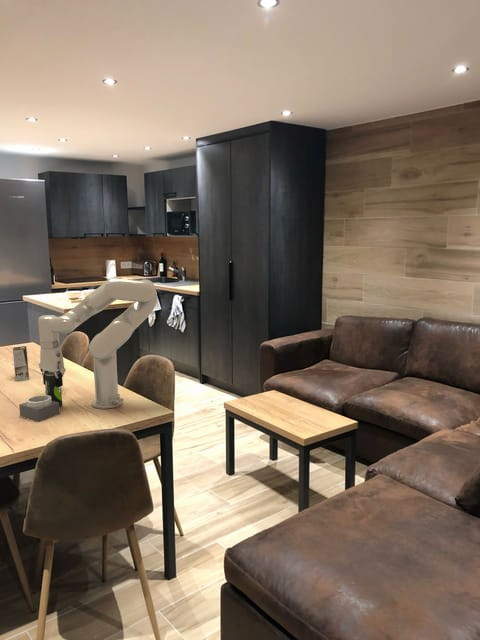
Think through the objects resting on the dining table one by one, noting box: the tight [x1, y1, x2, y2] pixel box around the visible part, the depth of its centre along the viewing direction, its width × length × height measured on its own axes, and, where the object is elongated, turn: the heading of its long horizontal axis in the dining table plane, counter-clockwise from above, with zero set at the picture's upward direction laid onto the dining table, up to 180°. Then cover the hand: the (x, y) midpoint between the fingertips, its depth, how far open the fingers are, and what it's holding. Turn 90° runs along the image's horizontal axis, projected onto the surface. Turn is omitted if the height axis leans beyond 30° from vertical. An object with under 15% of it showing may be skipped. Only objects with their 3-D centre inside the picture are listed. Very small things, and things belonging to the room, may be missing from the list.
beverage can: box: [45, 372, 63, 409], centre depth 213 cm, size 6×6×15 cm
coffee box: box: [12, 345, 30, 382], centre depth 257 cm, size 9×6×16 cm
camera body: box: [18, 394, 61, 423], centre depth 204 cm, size 12×10×7 cm
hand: (53, 384), depth 212 cm, fingers open, 7 cm apart
